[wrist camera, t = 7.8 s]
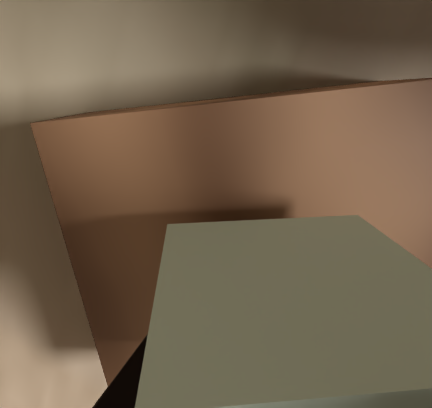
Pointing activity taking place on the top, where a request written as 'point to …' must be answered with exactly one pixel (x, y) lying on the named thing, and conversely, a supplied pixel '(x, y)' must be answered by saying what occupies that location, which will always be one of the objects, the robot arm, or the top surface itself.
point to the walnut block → (228, 181)
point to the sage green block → (288, 318)
